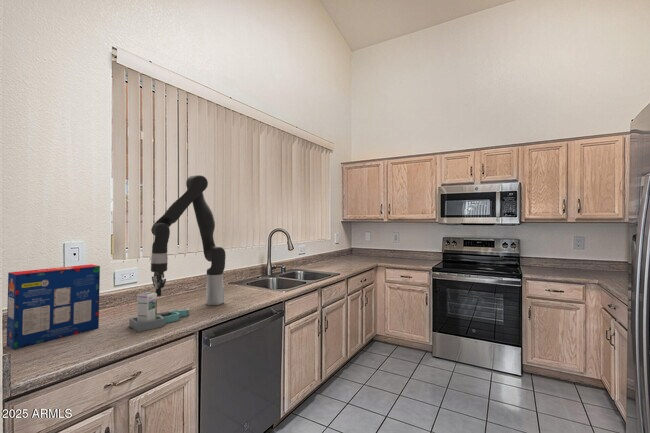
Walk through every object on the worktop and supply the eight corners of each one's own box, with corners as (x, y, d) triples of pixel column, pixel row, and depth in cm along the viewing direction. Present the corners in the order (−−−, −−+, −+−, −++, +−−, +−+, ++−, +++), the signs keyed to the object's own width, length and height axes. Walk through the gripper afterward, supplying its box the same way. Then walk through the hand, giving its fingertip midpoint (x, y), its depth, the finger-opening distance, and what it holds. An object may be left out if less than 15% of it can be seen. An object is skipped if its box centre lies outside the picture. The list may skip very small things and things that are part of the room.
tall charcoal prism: (168, 316, 163) (168, 311, 163) (170, 317, 161) (170, 312, 161) (156, 318, 159) (156, 313, 159) (159, 320, 157) (159, 314, 157)
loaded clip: (188, 313, 168) (188, 307, 168) (188, 315, 163) (188, 310, 163) (171, 314, 165) (171, 309, 165) (170, 317, 160) (170, 311, 160)
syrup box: (147, 327, 144) (148, 295, 144) (136, 326, 145) (137, 294, 145) (156, 323, 150) (157, 292, 150) (146, 322, 151) (146, 291, 151)
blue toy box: (89, 325, 147) (91, 264, 147) (98, 328, 143) (99, 265, 143) (6, 345, 123) (8, 272, 123) (14, 350, 119) (15, 274, 119)
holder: (154, 320, 155) (155, 313, 155) (164, 326, 148) (164, 318, 148) (129, 326, 147) (129, 318, 147) (137, 332, 139) (137, 323, 140)
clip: (175, 317, 160) (175, 311, 160) (179, 320, 157) (180, 313, 157) (158, 321, 154) (158, 315, 154) (162, 323, 151) (162, 317, 151)
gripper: (172, 262, 163) (171, 297, 162) (161, 260, 172) (160, 292, 171) (156, 263, 157) (155, 299, 157) (146, 261, 166) (145, 294, 166)
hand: (158, 295), depth 164 cm, fingers closed
